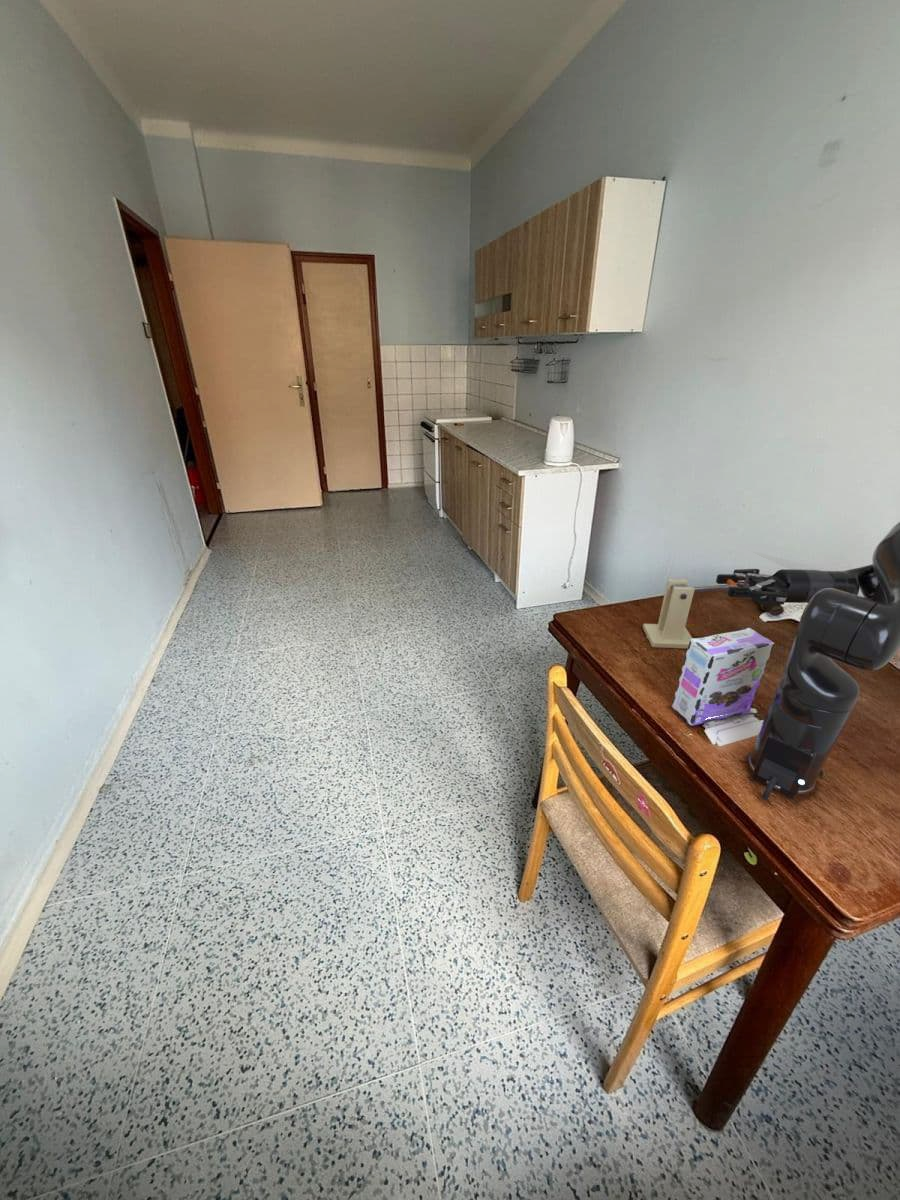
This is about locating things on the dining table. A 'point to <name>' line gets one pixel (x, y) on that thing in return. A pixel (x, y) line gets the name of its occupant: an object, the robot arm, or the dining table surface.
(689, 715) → the candy box
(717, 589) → the lever
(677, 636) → the bracket
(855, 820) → the dining table surface
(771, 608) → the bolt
